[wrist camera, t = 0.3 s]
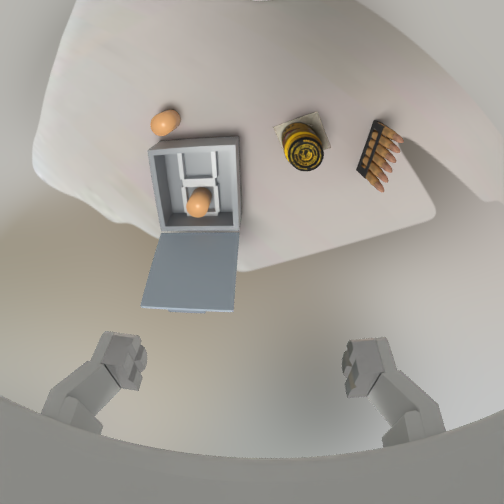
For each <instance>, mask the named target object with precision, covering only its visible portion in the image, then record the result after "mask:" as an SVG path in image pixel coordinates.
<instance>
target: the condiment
mask: <svg viewBox="0 0 504 504" xmlns="http://www.w3.org/2000/svg"><path fill="white" fill-rule="evenodd" d="M310 125H312V126H310ZM273 128H274V130H275V132H276V135H277V137H278V139H279V142H280V144H281V146H282V149H283V151H284V153H285V156H286V158H287V160H288V162H290V163H291V164H292V165H293V166H294V167H295V168H296V169H298V170H300V171H311V170H314V169H316V168H317V167H318V166H319V165H320V164H321V162H322V160H323V156H324V152H323V150H325V149H328V148H331V147H330V144H329V141H328V138H327V136H326V133H325V130H324V128H323V125H322V122H321V120H320V117H319V114H318V112H314V113H311V114H308V115H305V116H302V117H300V118H297V119H294V120H291V121H288V122H286V123H283V124H280V125H278V126H275V127H273Z"/></svg>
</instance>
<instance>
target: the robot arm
mask: <svg viewBox="0 0 504 504" xmlns="http://www.w3.org/2000/svg"><path fill="white" fill-rule="evenodd" d="M253 1H269V0H253ZM146 364H147V352H146V350H145V347H143V346H142V345H141V339H140V337H139V336H138V335H131V334H123V333H117V332H109V331H105V332H104V333H103V334H102V336H101V338H100V340H99V343H98V345H97V347H96V349H95V352H94V354H93V356H92V358H91V361H87V362H86V363H84V364H83V365H82V366H80V367H79V368H78V369H76V370H75V371H74V372H73V373H71V374H70V375H69V376H68V377H66V378H65V379H64V380H62V381H61V382H60V383H58V384H57V385H56V386H55V387H53V388H52V389H51V390H50V392H49V395H48V397H47V400H46V402H45V405H44V407H43V409H42V412H41V414H40V413H37V412H35V411H33V410H30V409H28V408H26V407H24V406H22V405H19V404H17V403H15V402H13V401H11V400H9V399H7V398H5V397H3V396H1V395H0V504H504V410H502V411H499V412H497V413H495V414H492V415H490V416H488V417H485V418H483V419H480V420H478V421H475V422H472V423H470V424H467V425H464V426H461V427H459V428H456V429H453V430H450V431H446V430H445V427H444V423H443V419H442V416H441V413H440V409H439V406H438V404H437V403H436V402H435V401H434V400H433V399H432V398H431V397H430V396H428V395H427V394H426V393H425V392H424V391H423V390H422V389H421V388H420V387H418V386H417V385H416V384H415V383H414V382H413V381H412V380H411V379H410V378H408V377H407V376H406V375H405V374H404V373H403V372H402V371H401V370H400V371H397V368H396V364H395V361H394V358H393V355H392V352H391V349H390V346H389V343H388V340H387V338H386V337H381V338H366V339H355V340H349V341H348V343H347V351H345V352H344V354H343V358H342V371H343V375H344V376H345V377H346V378H347V380H346V382H345V388H346V394H347V398H353V397H365V396H367V398H368V399H369V401H370V402H371V403H372V404H373V405H374V407H375V408H376V409H377V410H378V411H379V413H380V414H381V415H382V416H383V417H384V418H385V420H386V421H387V422H388V423H389V425H390V426H391V427H392V428H391V429H390V430H389V431H388V432H387V433H386V434H385V435H384V436H383V437H382V442H383V448H378V449H373V450H367V451H361V452H354V453H346V454H339V455H328V456H317V457H302V458H236V457H221V456H209V455H199V454H191V453H184V452H176V451H170V450H164V449H158V448H153V447H148V446H143V445H139V444H134V443H130V442H126V441H121V440H118V439H114V438H110V437H106V436H103V435H101V431H102V428H103V426H102V424H101V422H100V421H99V420H97V419H96V418H95V417H94V416H95V415H96V414H97V413H98V412H99V411H100V410H101V409H102V408H103V407H104V406H105V405H106V404H107V403H108V402H109V401H110V400H111V399H112V398H113V397H114V396H115V395H116V394H117V393H118V392H119V390H120V389H121V388H123V389H130V390H137V391H139V388H140V384H141V381H142V375H141V372H142V371H143V370H144V369H145V367H146Z"/></svg>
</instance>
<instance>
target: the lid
mask: <svg viewBox="0 0 504 504" xmlns="http://www.w3.org/2000/svg"><path fill="white" fill-rule="evenodd" d="M238 246H239V233H161V236H160V239H159V242H158V245H157V249H156V252H155V255H154V258H153V262H152V265H151V269H150V272H149V276H148V279H147V283H146V287H145V290H144V294H143V298H142V302H141V307H142V308H155V309H168V311H170V312H187V313H205V311H216V312H233V310H234V297H235V284H236V271H237V258H238Z"/></svg>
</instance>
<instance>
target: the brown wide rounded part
mask: <svg viewBox="0 0 504 504" xmlns="http://www.w3.org/2000/svg"><path fill="white" fill-rule="evenodd" d="M179 124H180V115H179V114H178V113H177V112H176V111H175V110H166V111H164V112H162V113H159V114H157V115H156V116H154V117H153V119H152V120H151V129H152V131H153V132H154V133H155V134H156V135H158V136H165V135H167V134H169V133H170V132H171V131H173V130H174V129H176V128H177V127H178V126H179Z"/></svg>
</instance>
